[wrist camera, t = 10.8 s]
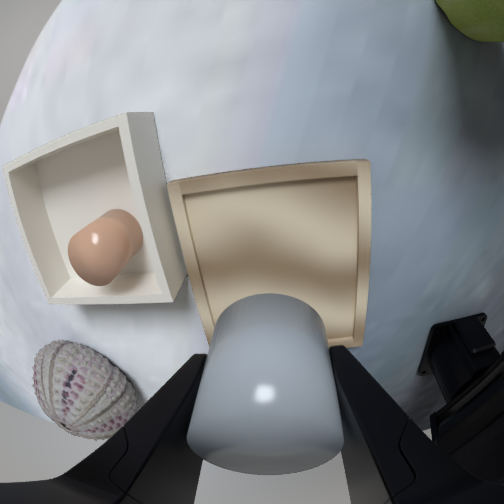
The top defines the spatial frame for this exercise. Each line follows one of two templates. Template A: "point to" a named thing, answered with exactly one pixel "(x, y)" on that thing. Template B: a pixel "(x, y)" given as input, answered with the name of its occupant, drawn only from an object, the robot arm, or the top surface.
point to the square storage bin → (98, 209)
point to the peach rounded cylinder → (105, 246)
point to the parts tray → (280, 239)
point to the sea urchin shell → (82, 390)
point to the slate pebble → (267, 390)
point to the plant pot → (476, 18)
